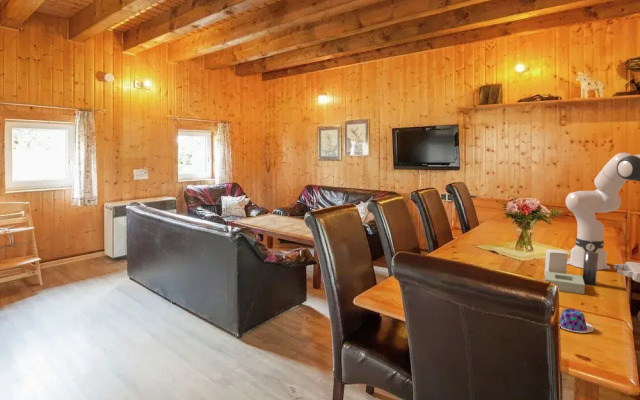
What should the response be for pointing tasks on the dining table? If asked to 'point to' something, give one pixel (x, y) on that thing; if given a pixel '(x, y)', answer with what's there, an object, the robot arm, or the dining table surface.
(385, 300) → the dining table surface
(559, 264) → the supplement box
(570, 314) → the purple patterned hat
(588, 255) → the peg
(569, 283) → the socket block
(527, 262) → the dining table surface
